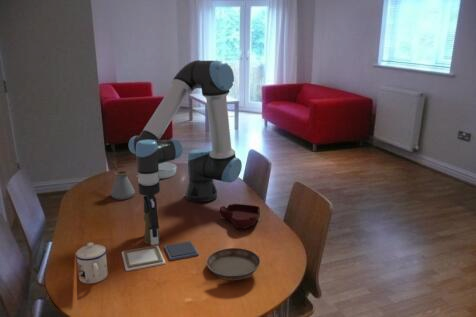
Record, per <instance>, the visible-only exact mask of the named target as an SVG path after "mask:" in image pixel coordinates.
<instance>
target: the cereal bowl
mask: <svg viewBox="0 0 476 317" xmlns="http://www.w3.org/2000/svg"><path fill="white" fill-rule="evenodd" d="M158 165H159V180H160V179H161V180H163V179H168V178H172V177H174V175H175V174H176V173H177V165H176V164H174V163H172V162H164V163H160V164H158Z"/></svg>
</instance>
